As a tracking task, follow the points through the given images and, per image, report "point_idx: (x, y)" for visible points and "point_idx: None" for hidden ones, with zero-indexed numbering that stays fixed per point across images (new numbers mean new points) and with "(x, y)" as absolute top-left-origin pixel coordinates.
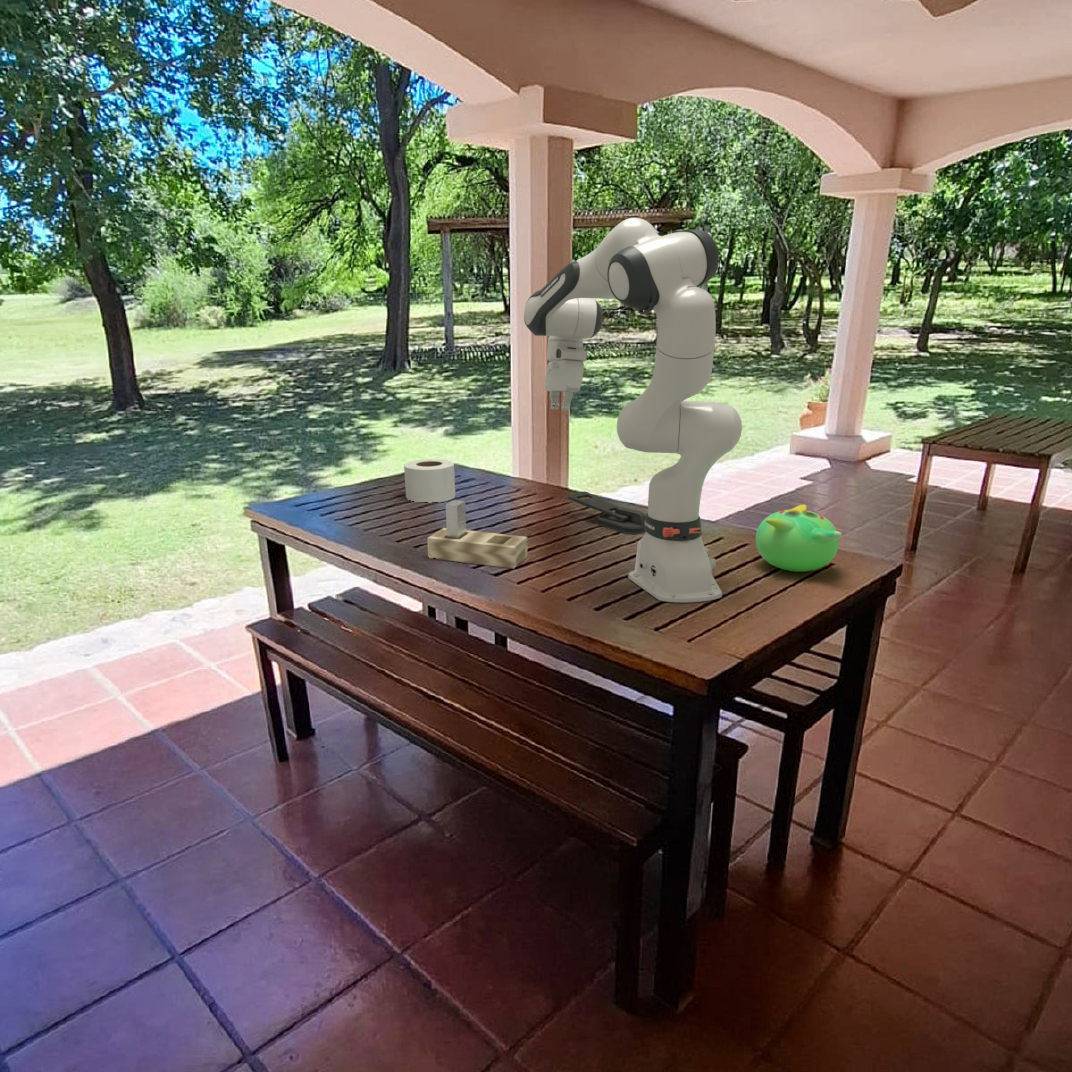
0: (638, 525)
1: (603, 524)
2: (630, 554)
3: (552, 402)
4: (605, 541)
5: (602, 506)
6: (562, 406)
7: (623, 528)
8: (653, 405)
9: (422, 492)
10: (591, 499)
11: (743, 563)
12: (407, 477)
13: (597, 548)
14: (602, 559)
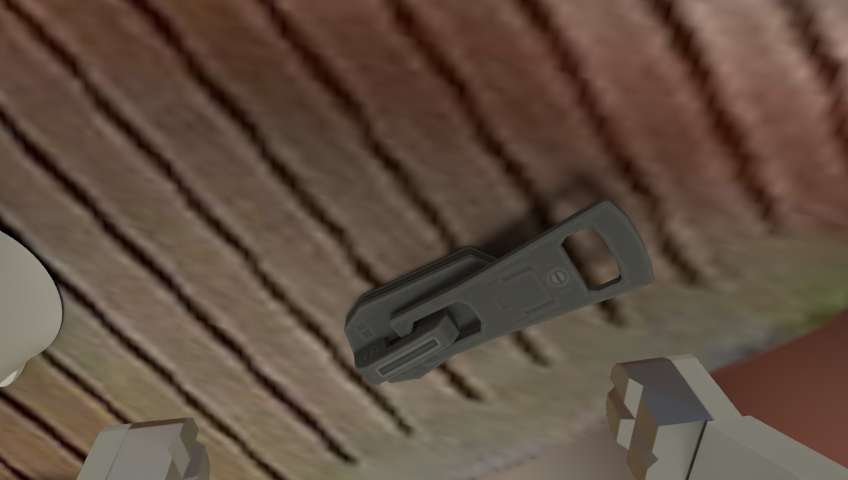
0: (357, 345)
1: (444, 260)
2: (160, 254)
3: (668, 422)
4: (289, 221)
5: (488, 291)
6: (119, 451)
7: (364, 301)
8: None
9: None
10: (560, 276)
11: None
12: None
13: (219, 179)
14: (110, 165)
